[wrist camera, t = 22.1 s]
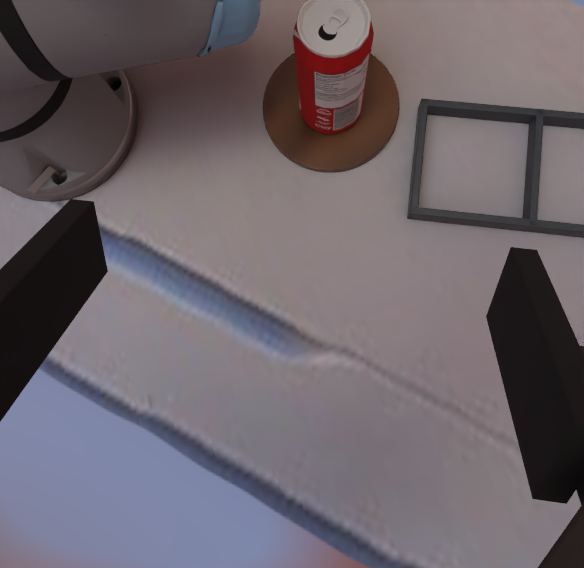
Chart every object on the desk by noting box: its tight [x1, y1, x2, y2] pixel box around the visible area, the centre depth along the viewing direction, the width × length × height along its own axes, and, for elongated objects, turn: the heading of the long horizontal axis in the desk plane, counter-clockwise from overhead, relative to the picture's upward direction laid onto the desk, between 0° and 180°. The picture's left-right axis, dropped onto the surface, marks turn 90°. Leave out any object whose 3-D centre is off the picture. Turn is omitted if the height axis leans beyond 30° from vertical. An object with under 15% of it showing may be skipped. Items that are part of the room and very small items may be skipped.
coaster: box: [263, 53, 399, 172], centre depth 47 cm, size 12×12×1 cm
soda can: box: [293, 0, 374, 134], centre depth 40 cm, size 6×6×12 cm
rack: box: [407, 99, 584, 237], centre depth 44 cm, size 20×10×2 cm, turn 83°
